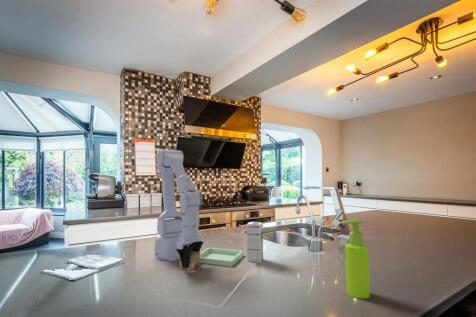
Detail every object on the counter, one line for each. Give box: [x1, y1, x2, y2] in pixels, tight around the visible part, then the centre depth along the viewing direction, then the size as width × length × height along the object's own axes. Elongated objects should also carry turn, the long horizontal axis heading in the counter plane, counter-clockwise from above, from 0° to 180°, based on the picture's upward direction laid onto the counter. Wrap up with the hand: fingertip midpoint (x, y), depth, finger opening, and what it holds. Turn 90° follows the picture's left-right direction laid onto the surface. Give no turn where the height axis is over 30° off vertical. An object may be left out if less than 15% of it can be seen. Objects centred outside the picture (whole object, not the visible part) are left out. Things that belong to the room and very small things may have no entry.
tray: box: [200, 247, 244, 268], centre depth 98 cm, size 16×14×2 cm
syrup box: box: [245, 221, 264, 264], centre depth 98 cm, size 6×6×14 cm
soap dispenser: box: [340, 219, 371, 300], centre depth 70 cm, size 6×7×20 cm
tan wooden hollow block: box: [178, 251, 202, 273], centre depth 88 cm, size 7×5×5 cm
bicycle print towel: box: [42, 253, 125, 281], centre depth 91 cm, size 19×20×2 cm
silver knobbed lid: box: [177, 267, 198, 274], centre depth 88 cm, size 8×8×4 cm
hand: (189, 264), depth 88 cm, fingers closed on tan wooden hollow block, 5 cm apart
